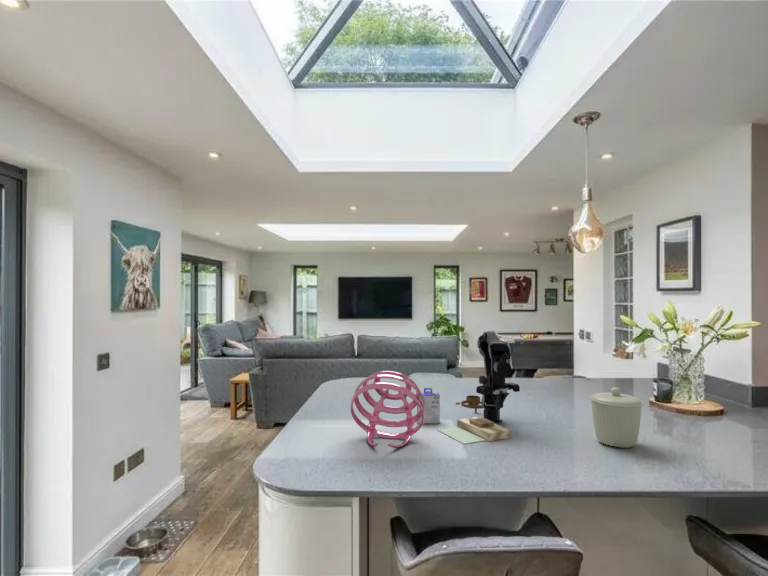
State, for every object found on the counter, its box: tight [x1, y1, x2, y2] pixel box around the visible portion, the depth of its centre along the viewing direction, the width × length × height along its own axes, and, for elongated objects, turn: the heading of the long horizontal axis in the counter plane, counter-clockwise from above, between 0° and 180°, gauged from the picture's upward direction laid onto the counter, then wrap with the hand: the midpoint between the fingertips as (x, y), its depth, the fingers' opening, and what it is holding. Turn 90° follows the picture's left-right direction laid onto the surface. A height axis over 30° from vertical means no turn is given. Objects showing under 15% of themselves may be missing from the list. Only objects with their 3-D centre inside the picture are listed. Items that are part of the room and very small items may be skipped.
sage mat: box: [437, 426, 486, 445], centre depth 166 cm, size 10×18×1 cm, turn 26°
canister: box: [589, 387, 645, 448], centre depth 158 cm, size 18×18×21 cm
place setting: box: [455, 395, 483, 414], centre depth 211 cm, size 18×20×6 cm
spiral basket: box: [349, 370, 425, 449], centre depth 157 cm, size 28×28×27 cm
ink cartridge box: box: [416, 387, 441, 424], centre depth 184 cm, size 10×6×14 cm, turn 90°
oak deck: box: [456, 416, 512, 442], centre depth 171 cm, size 11×20×3 cm, turn 26°
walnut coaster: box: [470, 417, 494, 428], centre depth 171 cm, size 7×7×2 cm
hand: (498, 409), depth 175 cm, fingers closed
